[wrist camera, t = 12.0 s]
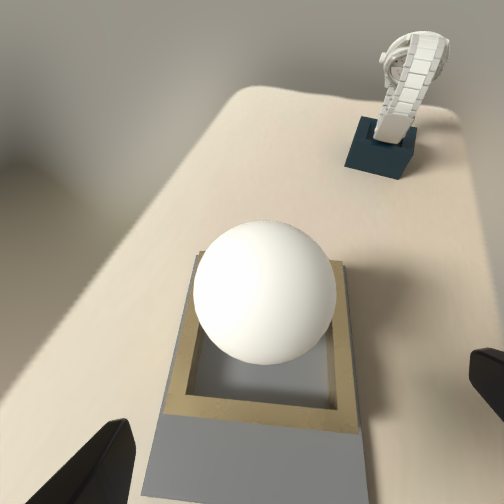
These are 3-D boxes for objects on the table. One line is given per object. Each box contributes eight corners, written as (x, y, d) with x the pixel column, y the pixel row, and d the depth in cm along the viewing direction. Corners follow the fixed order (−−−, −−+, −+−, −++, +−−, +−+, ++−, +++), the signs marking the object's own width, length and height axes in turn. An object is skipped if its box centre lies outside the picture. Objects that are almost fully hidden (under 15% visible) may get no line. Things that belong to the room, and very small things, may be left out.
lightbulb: (274, 280, 21) (288, 169, 12) (324, 351, 18) (396, 281, 9) (202, 321, 19) (151, 230, 10) (245, 406, 17) (230, 389, 7)
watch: (404, 142, 31) (469, 21, 21) (396, 191, 27) (470, 69, 17) (354, 131, 32) (395, 12, 23) (339, 176, 28) (381, 55, 19)
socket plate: (365, 519, 14) (387, 539, 12) (145, 492, 15) (125, 505, 13) (342, 270, 22) (352, 252, 20) (198, 259, 23) (191, 241, 21)
